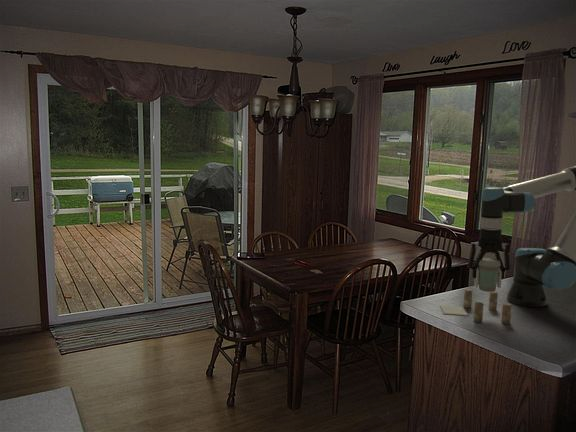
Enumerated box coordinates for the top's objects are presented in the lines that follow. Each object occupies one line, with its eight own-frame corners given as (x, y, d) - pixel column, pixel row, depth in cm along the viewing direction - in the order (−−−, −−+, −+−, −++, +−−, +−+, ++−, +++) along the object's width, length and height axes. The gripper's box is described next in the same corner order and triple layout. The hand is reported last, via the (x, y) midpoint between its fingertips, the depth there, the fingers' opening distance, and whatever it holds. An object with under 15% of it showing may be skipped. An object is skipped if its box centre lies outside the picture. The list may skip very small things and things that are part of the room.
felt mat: (463, 308, 194) (463, 307, 194) (467, 315, 185) (467, 314, 185) (440, 306, 195) (440, 305, 195) (443, 314, 187) (443, 313, 187)
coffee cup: (497, 294, 179) (499, 263, 178) (473, 290, 184) (474, 260, 182) (500, 288, 187) (502, 258, 185) (477, 285, 191) (479, 255, 189)
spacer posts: (497, 307, 195) (498, 291, 194) (511, 325, 176) (513, 306, 175) (462, 305, 197) (463, 289, 196) (473, 322, 178) (474, 304, 177)
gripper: (516, 227, 184) (512, 284, 187) (460, 226, 187) (457, 282, 190) (522, 230, 176) (518, 290, 180) (464, 229, 180) (461, 288, 183)
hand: (487, 286), depth 185 cm, fingers closed on coffee cup, 8 cm apart
